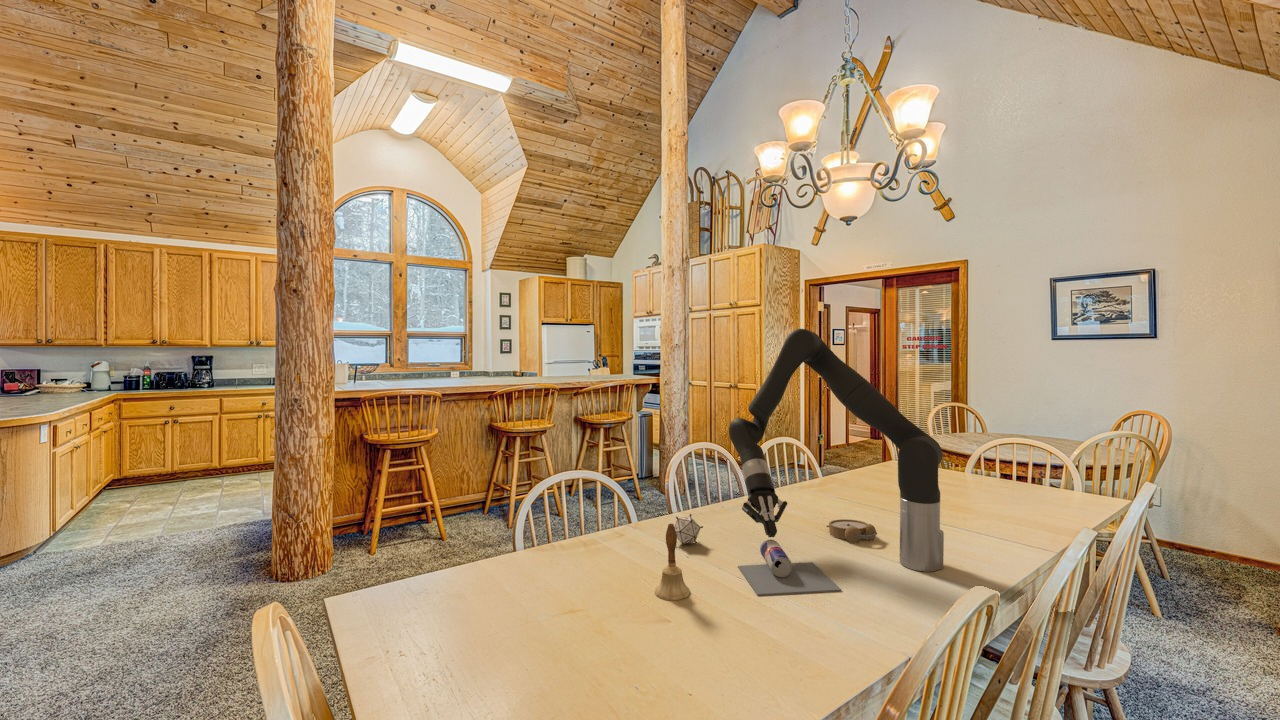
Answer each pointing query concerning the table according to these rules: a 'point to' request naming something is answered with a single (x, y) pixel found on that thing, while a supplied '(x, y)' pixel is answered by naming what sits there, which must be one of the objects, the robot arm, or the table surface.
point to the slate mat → (788, 580)
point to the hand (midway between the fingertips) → (772, 535)
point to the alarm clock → (851, 530)
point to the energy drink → (776, 558)
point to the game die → (687, 530)
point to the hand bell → (672, 573)
